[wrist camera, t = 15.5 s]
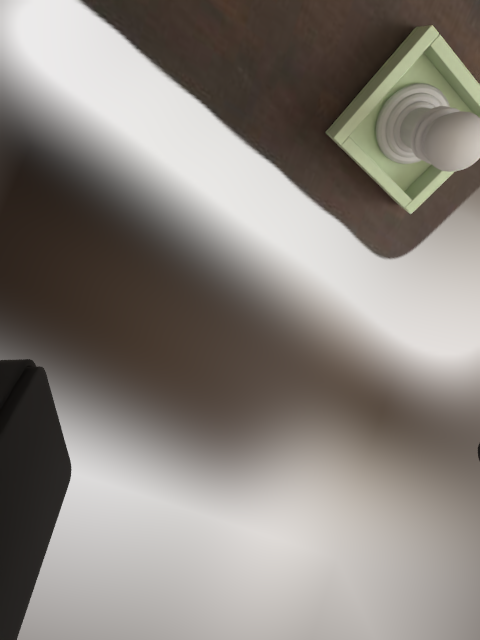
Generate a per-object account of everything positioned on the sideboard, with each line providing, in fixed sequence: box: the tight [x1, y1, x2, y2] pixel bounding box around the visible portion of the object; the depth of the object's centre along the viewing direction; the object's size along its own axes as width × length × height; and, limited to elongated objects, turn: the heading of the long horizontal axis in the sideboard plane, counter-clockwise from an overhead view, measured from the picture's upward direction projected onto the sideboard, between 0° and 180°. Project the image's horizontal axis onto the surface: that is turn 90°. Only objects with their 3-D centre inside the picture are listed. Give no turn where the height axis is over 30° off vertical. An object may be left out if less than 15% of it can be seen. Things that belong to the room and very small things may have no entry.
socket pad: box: [326, 25, 480, 214], centre depth 32 cm, size 9×9×3 cm
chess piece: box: [376, 83, 480, 172], centre depth 29 cm, size 5×5×9 cm
